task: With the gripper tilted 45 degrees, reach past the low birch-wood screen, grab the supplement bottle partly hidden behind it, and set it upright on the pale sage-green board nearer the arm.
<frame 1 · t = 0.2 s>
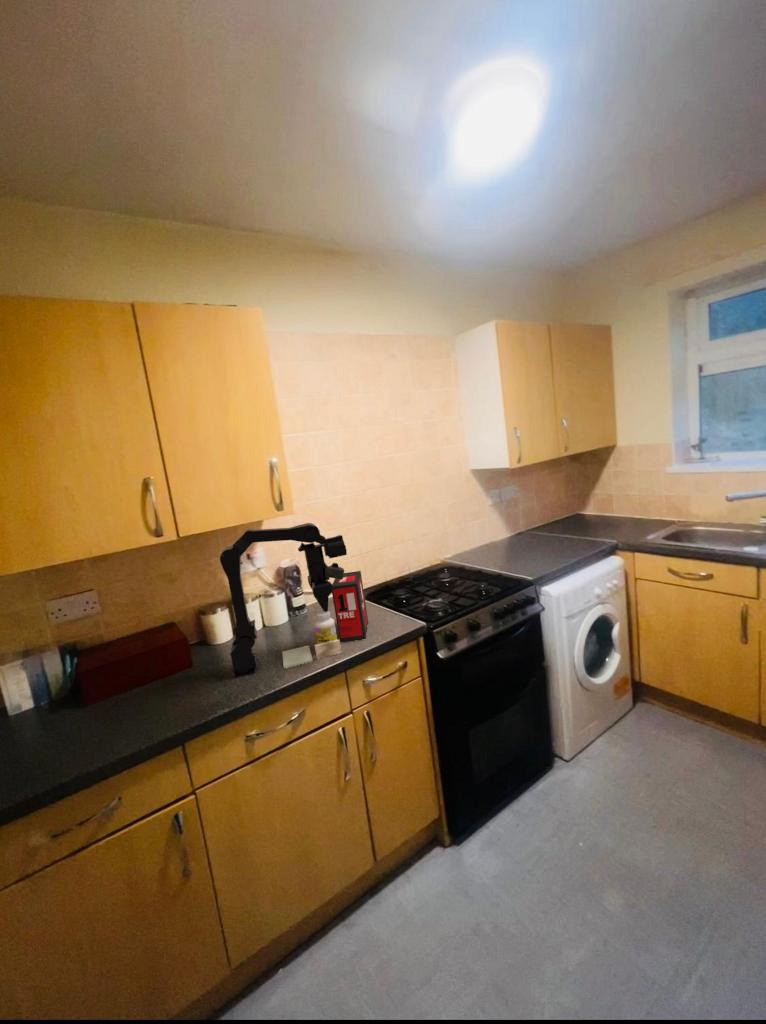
hand: (324, 607, 145), 15 cm above the counter, tool pointing down, fingers open, 9 cm apart
supplement bottle: (328, 650, 147), on the counter
sage board: (297, 657, 144), on the counter
cleaning product box: (354, 632, 159), on the counter
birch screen: (329, 655, 142), on the counter
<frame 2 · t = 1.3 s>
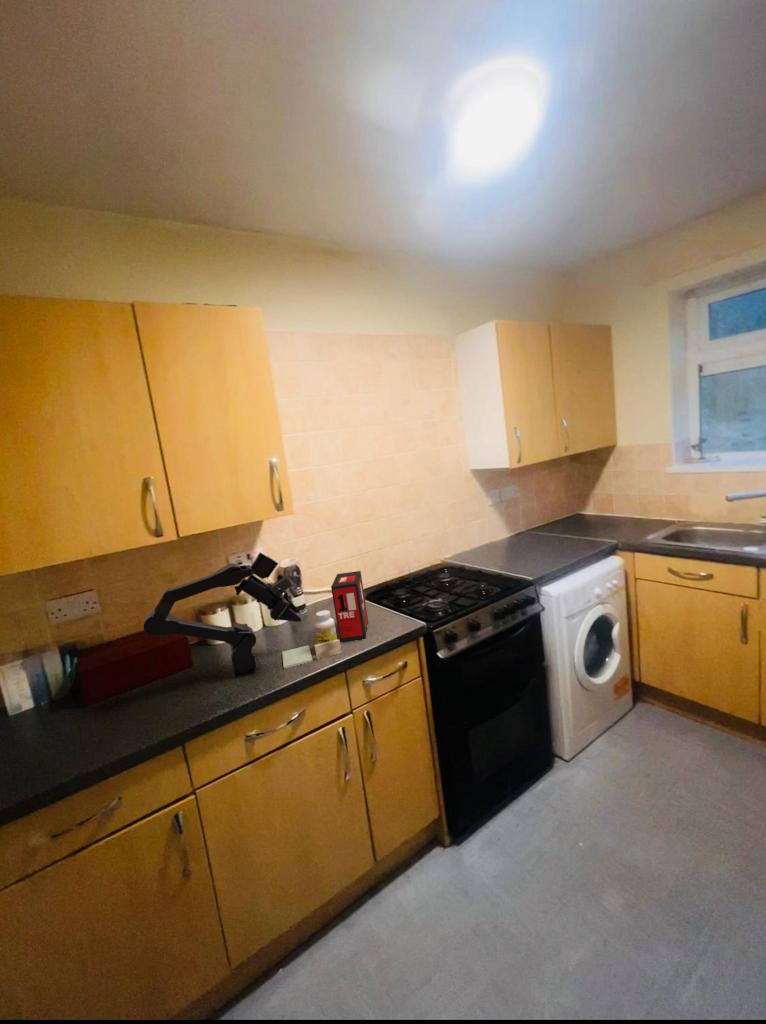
hand: (299, 616, 144), 13 cm above the counter, tool tilted 45°, fingers open, 9 cm apart
nothing on the counter moved.
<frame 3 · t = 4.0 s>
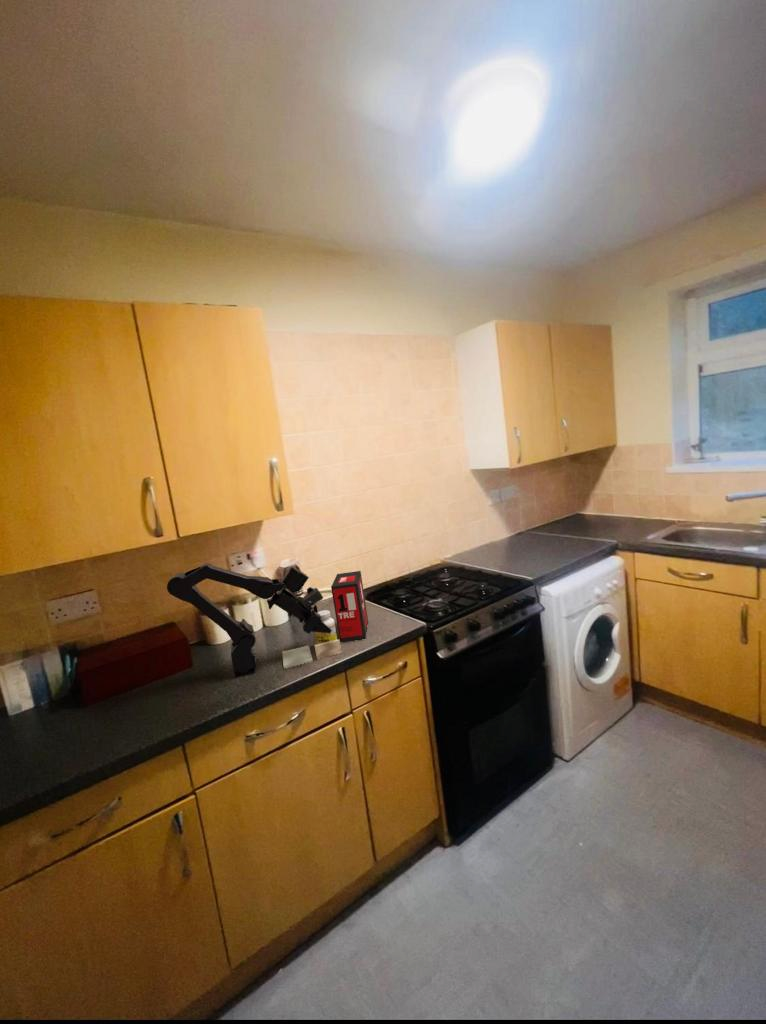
hand: (329, 628, 147), 7 cm above the counter, tool tilted 45°, fingers closed on supplement bottle, 7 cm apart
supplement bottle: (328, 650, 147), on the counter, touching gripper
everything else where it was.
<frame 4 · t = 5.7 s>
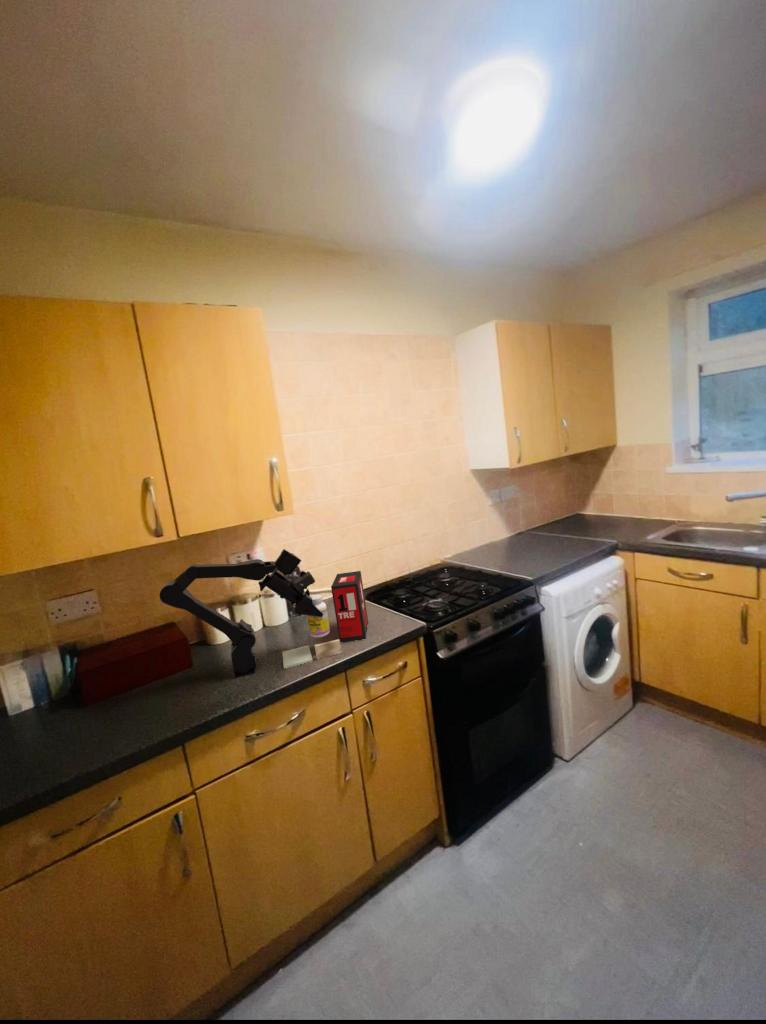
hand: (321, 612, 145), 13 cm above the counter, tool tilted 45°, fingers closed on supplement bottle, 7 cm apart
supplement bottle: (320, 634, 146), point 6 cm above the counter, touching gripper
everything else where it was.
when the fingers open (9 cm above the counter, at t = 7.8 s): supplement bottle drops 1 cm, resting on sage board.
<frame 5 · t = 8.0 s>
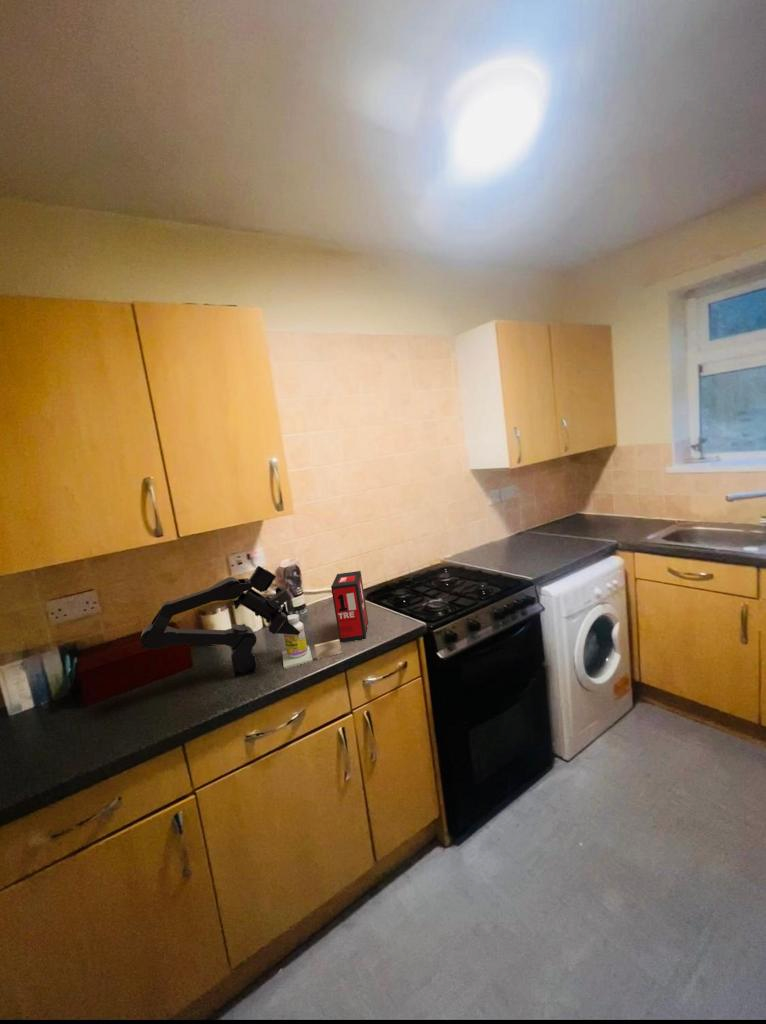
hand: (298, 628, 144), 9 cm above the counter, tool tilted 45°, fingers open, 9 cm apart
supplement bottle: (297, 654, 145), point 1 cm above the counter, touching sage board
everything else where it was.
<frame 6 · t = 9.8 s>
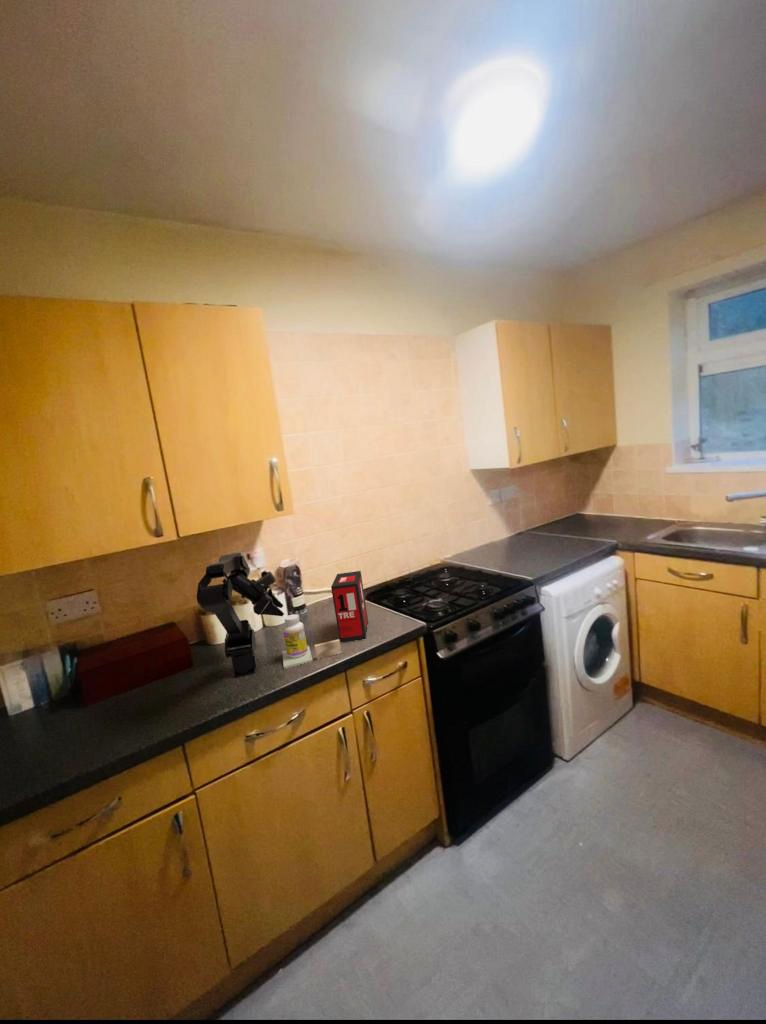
hand: (282, 610, 151), 14 cm above the counter, tool tilted 45°, fingers open, 9 cm apart
nothing on the counter moved.
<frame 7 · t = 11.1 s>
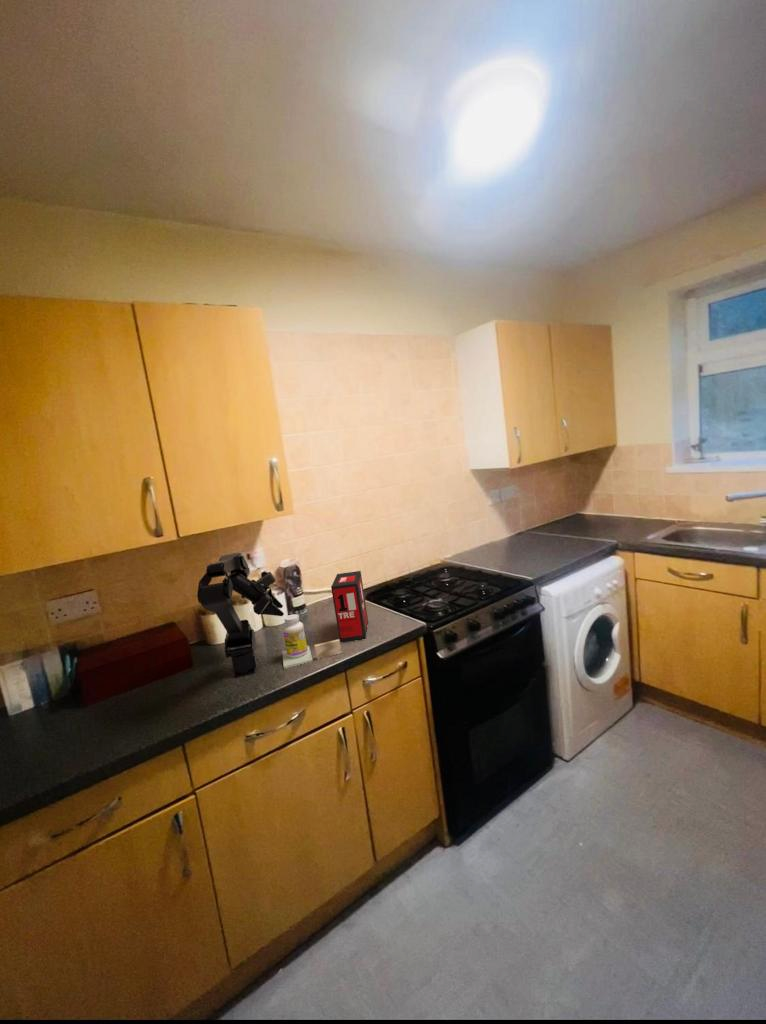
hand: (282, 610, 151), 14 cm above the counter, tool tilted 45°, fingers open, 9 cm apart
nothing on the counter moved.
at the end: supplement bottle inside the target area (0.3 cm from its centre), point 0.6 cm above the counter; supplement bottle tilted 0°; the gripper is holding nothing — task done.
